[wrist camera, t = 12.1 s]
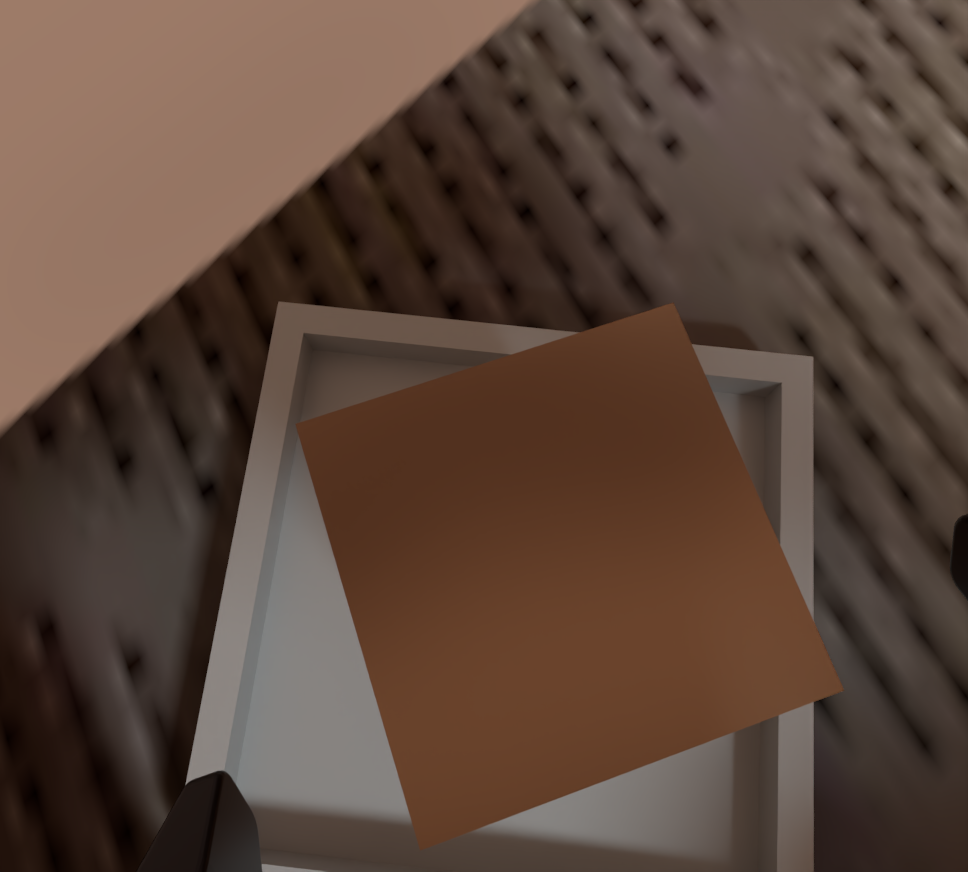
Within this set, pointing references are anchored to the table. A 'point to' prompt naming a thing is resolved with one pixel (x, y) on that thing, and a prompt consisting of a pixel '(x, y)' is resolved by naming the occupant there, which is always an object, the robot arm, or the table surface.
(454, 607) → the walnut block
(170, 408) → the table surface
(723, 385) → the tray
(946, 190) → the table surface
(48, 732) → the table surface
